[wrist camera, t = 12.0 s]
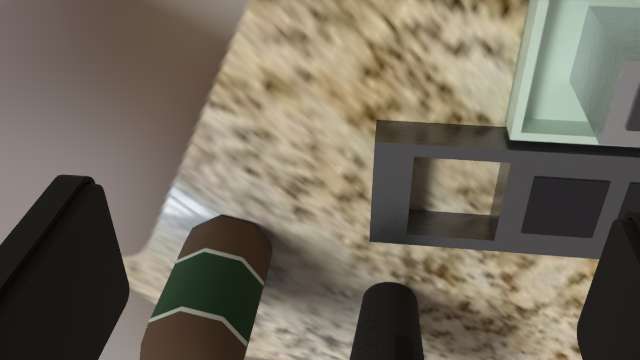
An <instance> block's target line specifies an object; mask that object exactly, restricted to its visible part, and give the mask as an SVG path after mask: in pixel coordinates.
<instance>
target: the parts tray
mask: <svg viewBox="0 0 640 360" xmlns="http://www.w3.org/2000/svg"><path fill="white" fill-rule="evenodd" d="M588 6H608V7H632V8H640V0H529V3H528V8H527V14H526V19H525V24H524V29H523V34H522V39H521V44H520V49H519V54H518V60H517V65H516V70H515V75H514V80H513V85H512V90H511V95H510V100H509V105H508V111H507V116H506V121H505V122H506V126H507V130H508V134H509V138H510V140H521V141H538V142H555V143H573V144H590V145H599V143H598V141H597V139H596V137H595V135H594V133H593V130H592V128H591V126H590V124H589V122H588V120H587V118H586V115H585V113H584V111H583V109H582V107H581V105H580V102H579V100H578V98H577V96H576V94H575V92H574V90H573V87H572V85H571V83H570V81H569V79H570V75H571V71H572V67H573V63H574V60H575V56H576V52H577V48H578V44H579V40H580V36H581V33H582V29H583V25H584V21H585V17H586V13H587V10H588ZM607 146H612V145H607ZM624 147H628V146H624Z"/></svg>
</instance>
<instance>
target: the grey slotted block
mask: <svg viewBox="0 0 640 360" xmlns="http://www.w3.org/2000/svg"><path fill="white" fill-rule="evenodd" d="M414 157H425V158H441V159H458V160H474V161H490V162H501V164H500V169H499V174H498V179H497V184H496V189H495V194H494V199H493V204H492V209H491V214H490V216H487V215H472V214H458V213H444V212H430V211H416V210H409V204H410V194H411V184H412V174H413V164H414ZM630 211H632V212H640V147H624V146H607V145H590V144H573V143H555V142H538V141H521V140H510V138H509V134H508V130H507V128H506V127H488V126H471V125H453V124H435V123H417V122H399V121H381V120H377V125H376V136H375V149H374V168H373V186H372V204H371V222H370V240H369V242H382V243H395V244H408V245H421V246H434V247H447V248H460V249H473V250H487V251H500V252H513V253H526V254H539V255H552V256H565V257H578V258H591V259H600V257H601V254H602V251H603V248H604V246H605V243H606V240H607V237H608V234H609V231H610V228H611V225H612V223H613V221H614V220H615V219H623V218H624V216H625V214H626V213H627V212H630Z"/></svg>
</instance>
